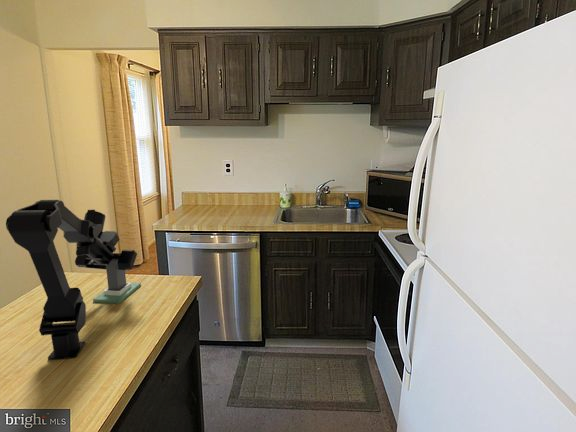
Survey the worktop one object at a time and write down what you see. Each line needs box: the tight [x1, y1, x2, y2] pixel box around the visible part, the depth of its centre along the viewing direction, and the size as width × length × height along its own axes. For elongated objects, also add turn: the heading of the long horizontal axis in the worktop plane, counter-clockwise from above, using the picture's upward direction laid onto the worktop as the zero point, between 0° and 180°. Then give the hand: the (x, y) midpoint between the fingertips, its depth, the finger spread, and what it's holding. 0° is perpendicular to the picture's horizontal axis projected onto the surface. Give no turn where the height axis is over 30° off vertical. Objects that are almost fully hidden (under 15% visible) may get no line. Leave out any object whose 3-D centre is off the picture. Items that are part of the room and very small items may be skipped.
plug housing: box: [105, 261, 127, 291], centre depth 121 cm, size 5×4×12 cm
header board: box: [92, 281, 142, 304], centre depth 122 cm, size 14×9×2 cm, turn 174°
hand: (118, 268), depth 122 cm, fingers open, 7 cm apart
